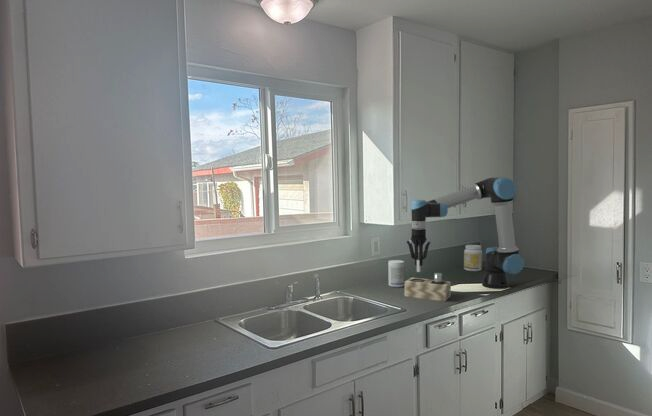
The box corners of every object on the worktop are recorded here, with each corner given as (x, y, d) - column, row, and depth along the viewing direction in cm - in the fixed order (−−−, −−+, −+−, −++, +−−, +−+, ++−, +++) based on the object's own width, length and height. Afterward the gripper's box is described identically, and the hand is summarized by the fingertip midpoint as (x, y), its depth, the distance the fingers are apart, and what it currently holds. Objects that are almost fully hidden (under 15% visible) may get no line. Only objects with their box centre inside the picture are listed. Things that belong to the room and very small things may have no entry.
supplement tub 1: (407, 286, 274) (408, 261, 273) (395, 288, 269) (396, 263, 268) (396, 283, 282) (397, 259, 281) (384, 285, 277) (385, 260, 276)
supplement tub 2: (470, 267, 332) (471, 244, 331) (485, 270, 322) (486, 246, 321) (459, 269, 325) (460, 245, 324) (474, 272, 315) (475, 247, 314)
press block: (450, 296, 252) (450, 281, 251) (445, 301, 241) (445, 285, 240) (411, 291, 262) (411, 277, 261) (404, 296, 251) (404, 281, 251)
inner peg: (442, 286, 249) (442, 273, 249) (440, 288, 246) (440, 274, 245) (435, 285, 251) (435, 272, 251) (433, 287, 248) (433, 273, 247)
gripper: (404, 228, 251) (405, 271, 253) (428, 229, 245) (428, 273, 247) (409, 227, 258) (409, 269, 260) (432, 228, 252) (432, 271, 253)
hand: (418, 271), depth 253 cm, fingers closed
